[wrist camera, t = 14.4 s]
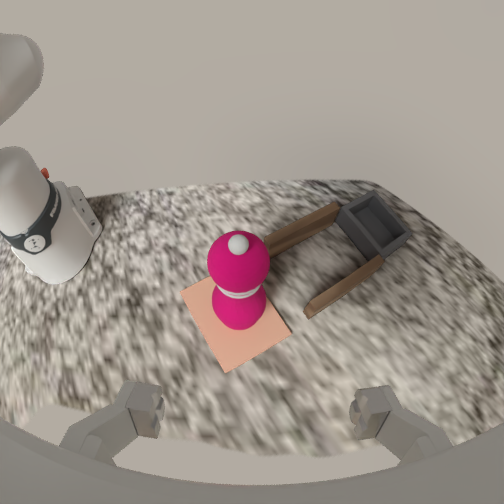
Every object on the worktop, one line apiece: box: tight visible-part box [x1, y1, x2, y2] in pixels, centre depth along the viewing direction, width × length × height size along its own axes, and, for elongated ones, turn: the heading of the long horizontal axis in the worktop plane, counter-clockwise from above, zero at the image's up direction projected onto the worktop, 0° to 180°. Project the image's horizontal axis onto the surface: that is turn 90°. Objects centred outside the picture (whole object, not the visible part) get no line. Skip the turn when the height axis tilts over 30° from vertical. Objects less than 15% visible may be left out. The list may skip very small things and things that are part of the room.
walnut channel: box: [264, 202, 385, 319], centre depth 44 cm, size 13×14×5 cm
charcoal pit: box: [335, 190, 412, 262], centre depth 48 cm, size 11×9×4 cm
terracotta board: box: [180, 276, 292, 373], centre depth 41 cm, size 14×11×1 cm
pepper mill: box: [207, 231, 270, 330], centre depth 33 cm, size 7×7×20 cm
